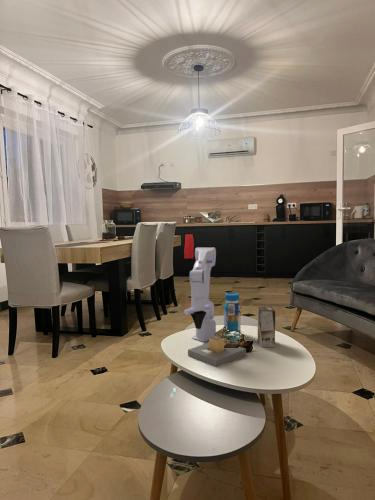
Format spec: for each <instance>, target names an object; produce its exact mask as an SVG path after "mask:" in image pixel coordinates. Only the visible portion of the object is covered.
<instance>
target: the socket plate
mask: <svg viewBox="0 0 375 500" xmlns="http://www.w3.org/2000/svg"><path fill="white" fill-rule="evenodd" d="M246 355H247V348H245V347H242V346H239V347H238V348H224V351H222V352H220V353H217V352H214V351H211V350H209V342H207V343H204V344H201V345H198V346H195V347H191V348H188V349H187V356H188V357H191V358H193V359H195V360H198V361H200V362H203V363H205V364H209V365H211V366H213V367H216V368H217V367H220V366H222V365H225V364H227V363H229V362H231V361H234V360H236V359H239V358H241V357H244V356H246Z"/></svg>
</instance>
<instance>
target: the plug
mask: <svg viewBox="0 0 375 500" xmlns="http://www.w3.org/2000/svg"><path fill="white" fill-rule="evenodd" d="M224 342H225V338H222V337H220V336H217V335H216V336H215V337H211V338H209V340H208V343H209V350H211V351H214V352H217V353H220V352H222V351H224Z"/></svg>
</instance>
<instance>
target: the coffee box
mask: <svg viewBox="0 0 375 500" xmlns="http://www.w3.org/2000/svg"><path fill="white" fill-rule="evenodd" d="M257 342H258V344H259V346H260V348H275V347H276V309H274V308H273V307H272V306H257Z"/></svg>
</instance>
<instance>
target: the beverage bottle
mask: <svg viewBox="0 0 375 500" xmlns="http://www.w3.org/2000/svg"><path fill="white" fill-rule="evenodd" d="M224 297H225V298H224V299H225V301H226V302H225V304H224V305H223V328H224V327H225V326H226V327H227V330H229V331H236V332H239V333H240V334H241V331H242V330H241V325H242V322H241V321H242V319H241V315H242V311H241V308H242V307H241V304H240V302H239V301H240V294H239V293H238V292H226V293H225V294H224Z"/></svg>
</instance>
